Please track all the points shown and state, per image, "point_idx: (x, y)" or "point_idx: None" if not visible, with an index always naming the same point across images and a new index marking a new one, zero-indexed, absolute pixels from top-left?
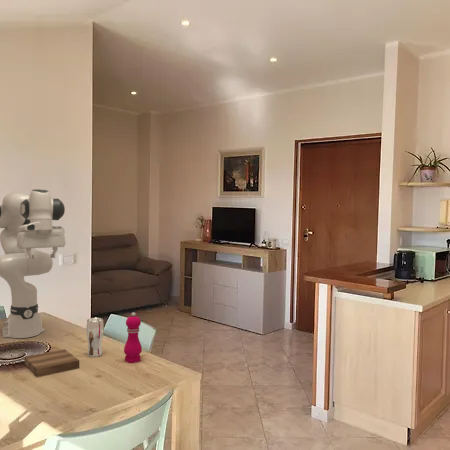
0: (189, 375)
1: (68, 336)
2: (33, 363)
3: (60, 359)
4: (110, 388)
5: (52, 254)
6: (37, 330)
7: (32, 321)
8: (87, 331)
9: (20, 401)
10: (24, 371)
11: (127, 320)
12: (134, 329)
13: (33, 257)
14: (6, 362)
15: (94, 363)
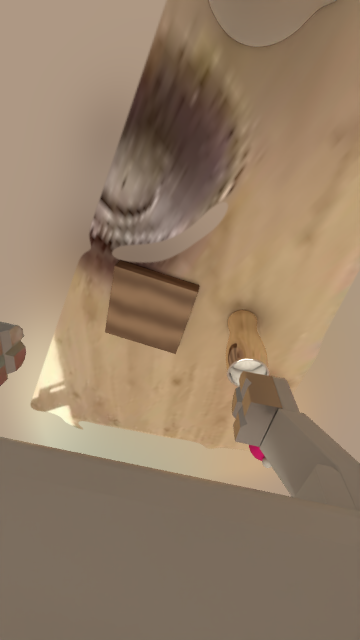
0: None
1: (326, 156)
2: (111, 309)
3: (156, 328)
4: (160, 410)
5: (240, 436)
6: (291, 23)
7: (275, 5)
8: (226, 351)
9: (63, 363)
10: (104, 290)
11: (252, 447)
12: None
13: (10, 370)
14: (96, 221)
15: (207, 349)
